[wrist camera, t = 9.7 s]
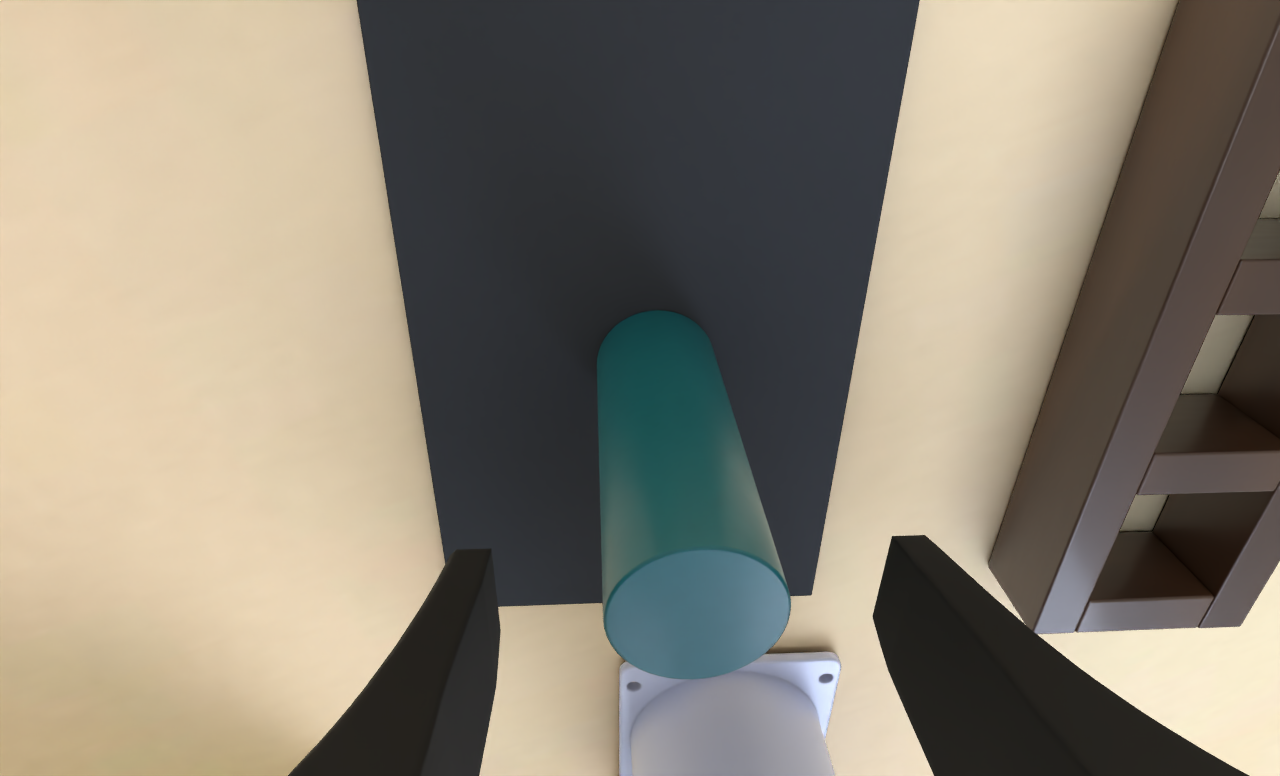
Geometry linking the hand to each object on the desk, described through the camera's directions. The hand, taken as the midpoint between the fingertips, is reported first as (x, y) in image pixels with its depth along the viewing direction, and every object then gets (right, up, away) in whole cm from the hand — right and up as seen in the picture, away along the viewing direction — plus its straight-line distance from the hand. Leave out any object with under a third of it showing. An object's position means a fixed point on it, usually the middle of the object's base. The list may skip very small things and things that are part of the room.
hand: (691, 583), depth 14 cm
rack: (+14, +5, +8) cm, 17 cm away
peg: (-1, +4, +7) cm, 8 cm away
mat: (-1, +4, +7) cm, 9 cm away
